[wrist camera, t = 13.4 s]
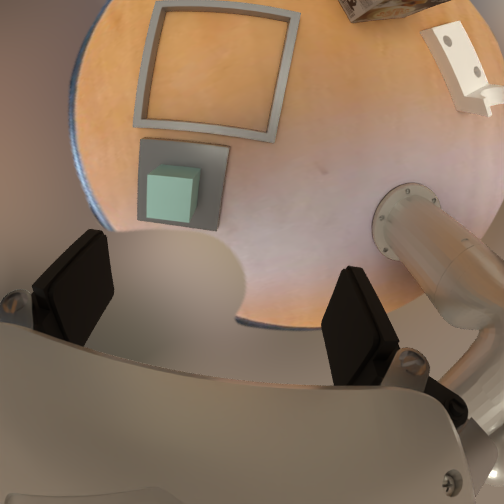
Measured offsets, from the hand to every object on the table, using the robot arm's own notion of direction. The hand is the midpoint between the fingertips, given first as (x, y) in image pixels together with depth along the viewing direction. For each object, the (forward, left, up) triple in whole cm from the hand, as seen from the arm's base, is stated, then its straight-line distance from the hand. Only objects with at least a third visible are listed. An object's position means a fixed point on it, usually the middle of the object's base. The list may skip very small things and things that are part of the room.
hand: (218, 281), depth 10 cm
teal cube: (+7, +4, -24) cm, 25 cm away
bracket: (-28, -23, -26) cm, 44 cm away
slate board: (+7, +4, -25) cm, 27 cm away
